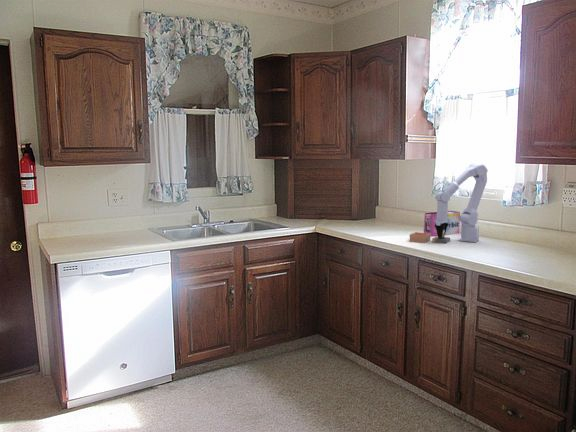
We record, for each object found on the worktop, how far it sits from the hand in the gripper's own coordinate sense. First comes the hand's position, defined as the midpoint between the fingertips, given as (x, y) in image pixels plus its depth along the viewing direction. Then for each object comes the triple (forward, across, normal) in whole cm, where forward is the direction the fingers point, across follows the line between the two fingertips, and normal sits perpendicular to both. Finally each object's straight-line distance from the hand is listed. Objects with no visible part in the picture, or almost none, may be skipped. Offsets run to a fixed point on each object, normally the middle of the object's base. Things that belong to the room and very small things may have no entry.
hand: (441, 236), depth 288 cm
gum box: (+3, -25, -7) cm, 26 cm away
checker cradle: (+3, 0, 0) cm, 3 cm away
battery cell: (+3, 0, 0) cm, 3 cm away
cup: (+3, +4, -11) cm, 12 cm away
